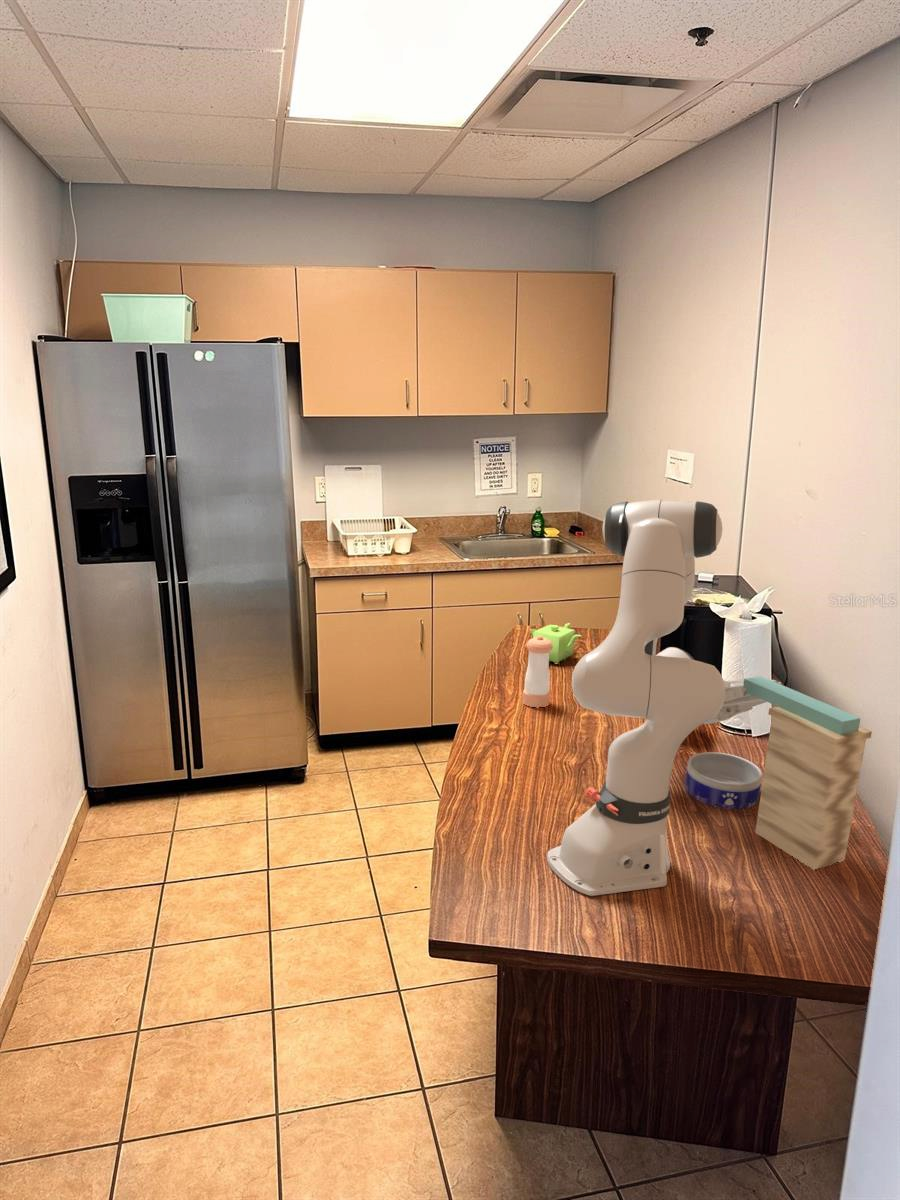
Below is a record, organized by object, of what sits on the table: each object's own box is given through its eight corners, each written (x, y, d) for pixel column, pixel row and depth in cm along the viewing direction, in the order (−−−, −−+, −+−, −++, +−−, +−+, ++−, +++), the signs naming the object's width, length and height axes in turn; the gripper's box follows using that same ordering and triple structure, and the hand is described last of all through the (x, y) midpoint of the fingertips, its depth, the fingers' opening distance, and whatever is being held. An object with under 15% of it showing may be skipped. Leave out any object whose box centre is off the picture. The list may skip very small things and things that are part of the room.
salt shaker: (518, 705, 220) (522, 637, 216) (527, 696, 227) (531, 630, 222) (544, 710, 218) (549, 641, 213) (552, 701, 224) (557, 634, 219)
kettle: (567, 651, 268) (570, 618, 265) (582, 666, 254) (585, 631, 251) (523, 653, 265) (525, 619, 262) (536, 667, 251) (539, 632, 248)
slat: (840, 735, 143) (842, 721, 142) (742, 690, 163) (744, 678, 162) (858, 731, 145) (860, 718, 144) (759, 687, 165) (760, 676, 164)
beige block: (814, 872, 147) (836, 739, 141) (751, 831, 160) (769, 708, 154) (848, 861, 151) (871, 731, 145) (784, 823, 164) (803, 701, 158)
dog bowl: (748, 778, 183) (751, 754, 182) (767, 813, 168) (771, 786, 167) (679, 773, 184) (681, 749, 183) (692, 807, 169) (695, 781, 168)
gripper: (672, 692, 169) (717, 679, 157) (745, 680, 178) (794, 667, 166) (679, 722, 168) (726, 711, 156) (753, 709, 177) (803, 698, 165)
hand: (762, 689), depth 161 cm, fingers open, 8 cm apart
